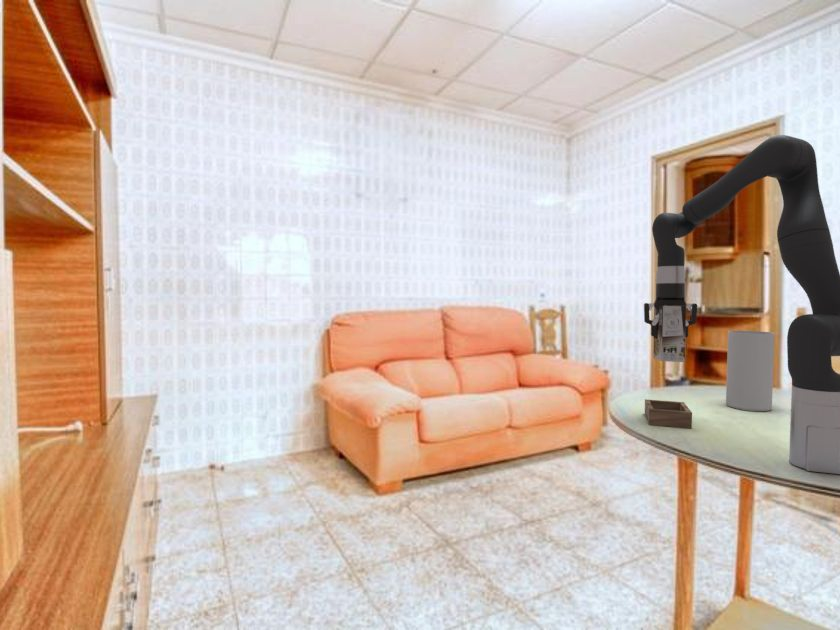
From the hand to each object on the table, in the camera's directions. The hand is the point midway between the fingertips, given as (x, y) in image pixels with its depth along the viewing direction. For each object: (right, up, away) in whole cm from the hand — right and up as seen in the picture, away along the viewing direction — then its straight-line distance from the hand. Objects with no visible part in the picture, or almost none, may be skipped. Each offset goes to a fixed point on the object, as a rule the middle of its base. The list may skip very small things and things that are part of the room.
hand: (669, 338), depth 139 cm
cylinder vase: (+35, -24, +18) cm, 46 cm away
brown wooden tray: (0, -24, +1) cm, 24 cm away
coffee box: (0, -6, 0) cm, 6 cm away
